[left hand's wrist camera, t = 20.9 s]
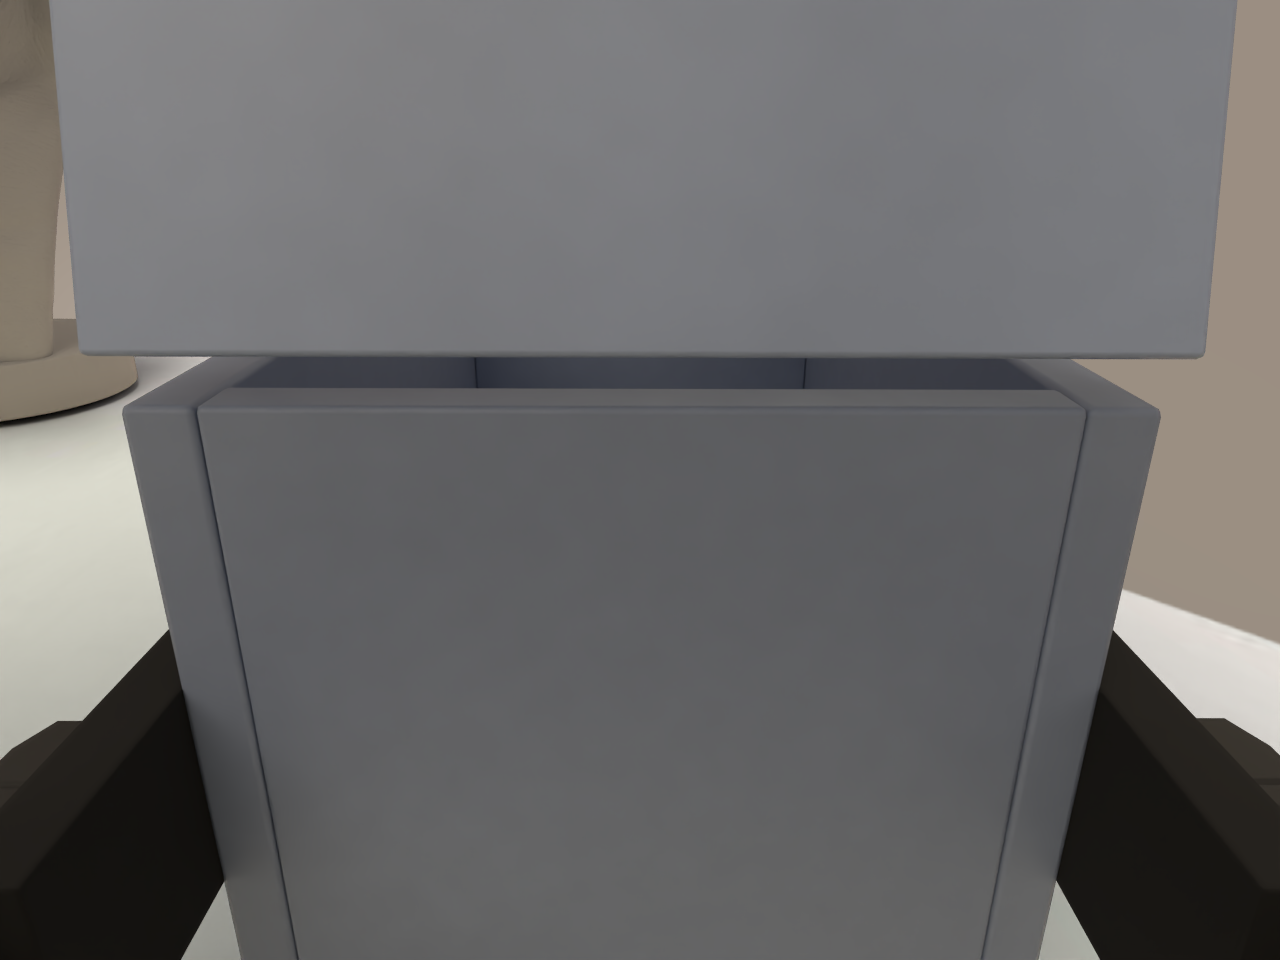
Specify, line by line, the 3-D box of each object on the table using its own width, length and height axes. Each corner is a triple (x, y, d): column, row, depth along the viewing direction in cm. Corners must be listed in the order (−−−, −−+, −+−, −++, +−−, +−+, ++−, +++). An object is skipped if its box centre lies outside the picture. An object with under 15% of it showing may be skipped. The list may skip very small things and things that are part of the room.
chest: (470, 599, 27) (442, 225, 23) (808, 599, 27) (839, 226, 23) (278, 1144, 13) (116, 405, 9) (999, 1145, 13) (1166, 409, 9)
